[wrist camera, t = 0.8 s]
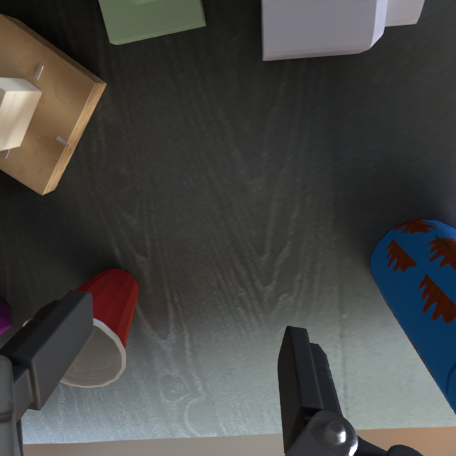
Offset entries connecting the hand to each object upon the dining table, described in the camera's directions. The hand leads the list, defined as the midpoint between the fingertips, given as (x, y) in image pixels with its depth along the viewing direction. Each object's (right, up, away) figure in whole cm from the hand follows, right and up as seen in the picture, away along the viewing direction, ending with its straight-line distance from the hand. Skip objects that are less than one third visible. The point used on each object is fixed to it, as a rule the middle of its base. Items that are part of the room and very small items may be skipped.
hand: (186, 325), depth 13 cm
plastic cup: (-13, -4, +30) cm, 33 cm away
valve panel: (-19, +16, +21) cm, 33 cm away
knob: (-19, +15, +19) cm, 31 cm away
